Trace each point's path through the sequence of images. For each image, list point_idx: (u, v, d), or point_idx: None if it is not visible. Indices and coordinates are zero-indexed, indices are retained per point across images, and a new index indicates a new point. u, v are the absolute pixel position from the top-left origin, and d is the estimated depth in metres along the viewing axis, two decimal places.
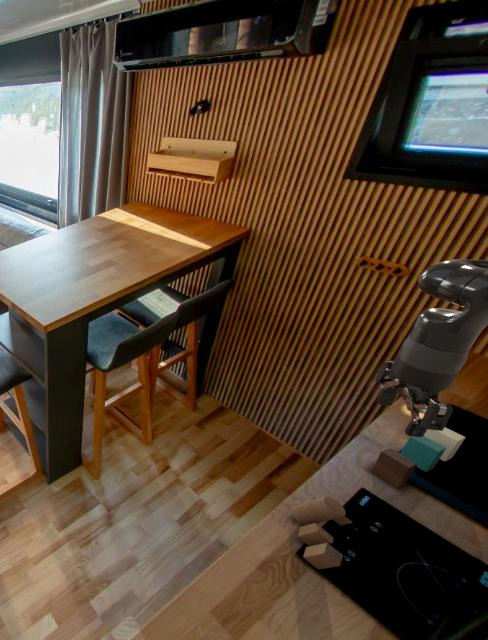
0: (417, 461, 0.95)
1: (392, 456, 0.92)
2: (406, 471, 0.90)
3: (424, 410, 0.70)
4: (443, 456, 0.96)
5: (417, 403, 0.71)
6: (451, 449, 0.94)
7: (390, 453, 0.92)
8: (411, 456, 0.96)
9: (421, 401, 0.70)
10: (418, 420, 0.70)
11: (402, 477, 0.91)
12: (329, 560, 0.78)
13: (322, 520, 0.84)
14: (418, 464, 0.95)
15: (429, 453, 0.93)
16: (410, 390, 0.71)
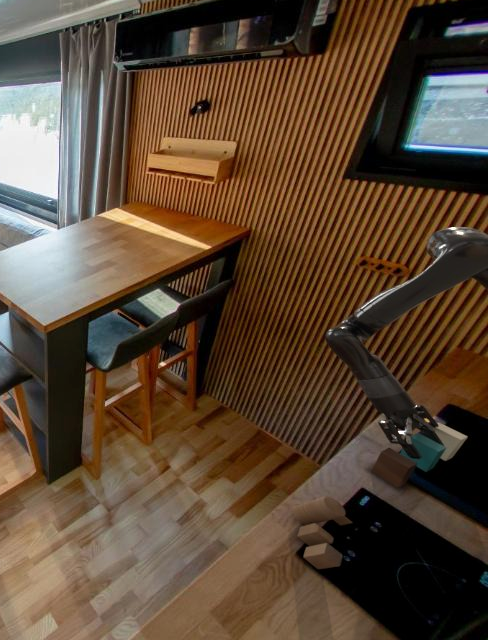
0: (417, 461, 0.95)
1: (392, 456, 0.92)
2: (406, 471, 0.90)
3: (400, 432, 0.95)
4: (444, 455, 0.96)
5: (398, 428, 0.96)
6: (453, 448, 0.94)
7: (390, 453, 0.92)
8: None
9: None
10: None
11: (402, 477, 0.91)
12: (329, 560, 0.78)
13: (322, 520, 0.84)
14: (418, 464, 0.95)
15: (429, 453, 0.93)
16: None
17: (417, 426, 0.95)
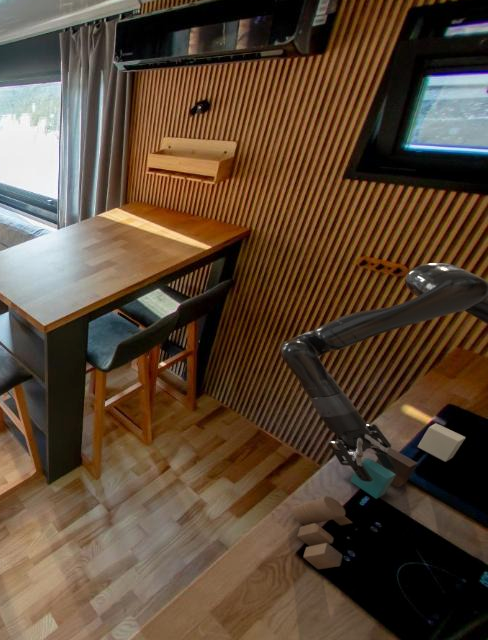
0: (368, 487, 0.92)
1: (393, 455, 0.92)
2: (407, 470, 0.90)
3: (351, 453, 0.91)
4: (444, 456, 0.96)
5: (349, 448, 0.92)
6: (452, 449, 0.94)
7: (391, 453, 0.93)
8: (362, 482, 0.93)
9: None
10: None
11: (402, 477, 0.91)
12: (329, 560, 0.78)
13: (322, 520, 0.84)
14: (369, 490, 0.92)
15: (379, 480, 0.89)
16: None
17: (368, 447, 0.91)
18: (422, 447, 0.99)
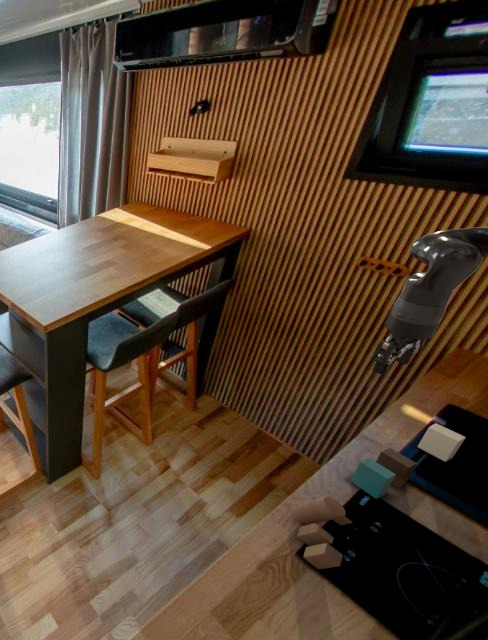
0: (368, 487, 0.92)
1: (392, 456, 0.92)
2: (406, 471, 0.90)
3: None
4: (444, 456, 0.96)
5: None
6: (452, 449, 0.94)
7: (390, 453, 0.92)
8: (362, 482, 0.93)
9: None
10: None
11: (402, 477, 0.91)
12: (329, 560, 0.78)
13: (322, 520, 0.84)
14: (369, 490, 0.92)
15: (379, 480, 0.89)
16: None
17: (408, 348, 0.89)
18: (422, 447, 0.99)
